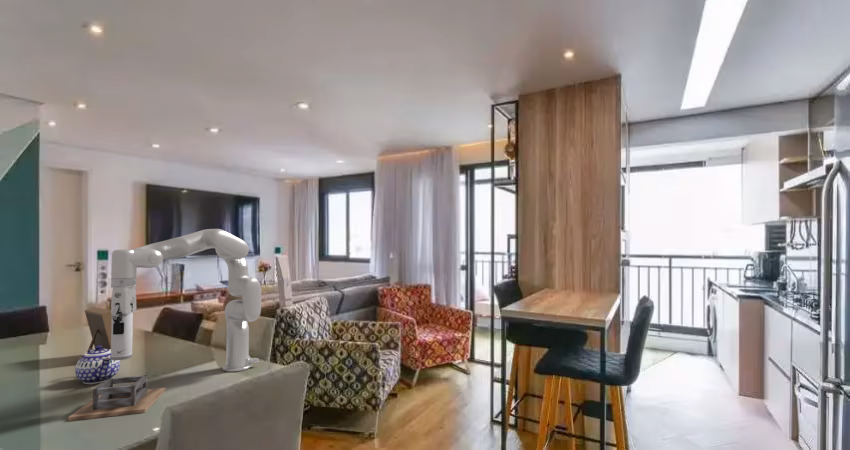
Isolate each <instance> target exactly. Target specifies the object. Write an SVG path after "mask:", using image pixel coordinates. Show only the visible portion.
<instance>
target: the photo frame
mask: <svg viewBox="0 0 850 450" xmlns="http://www.w3.org/2000/svg"><path fill="white" fill-rule="evenodd" d="M84 314H85V317H86V321H87V324H88V329H89V332H90V335H91V341H90V343H89V346H88V348H87V351H86V352H88V350H89V349H94V347H95V346H98V345H101V346H102V348H101V349H111V326H112V314H111V309H107V308H100V307H96V306H95V307H94V306H93V307H90V308H87V309H84Z"/></svg>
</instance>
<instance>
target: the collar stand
mask: <svg viewBox="0 0 850 450" xmlns="http://www.w3.org/2000/svg"><path fill="white" fill-rule="evenodd" d="M148 376H149V375H148V374H145V375H134V376H133V375H132V376H124V377H123V376H122V377H113V378H109V379H108V380H106V381H105V382H101V383H100V384H98V386H97V387H95V388H94V389H92V399H91V400H89V401H88V402H87V403H85V404H84V405H82V407H80V408H79V409H77V410H76V411H74V413H72V414H70V415H69V416H68V417H67V421H68V422H72V421H81V420H88V419H89V420H91V419H97V418H98V419H99V418H108V417H118V416H125V415H135V414H143V413H146V412H147V411H148V410H149V409H150V408H151V407H152V406H153V405H154V403H156V402H157V400H158V399H159V398H160V397H161V396H162V395H163V394H164V393H165V392H166V389H167V388H166V387H156V388H148ZM131 383H132V384H131ZM121 384H122V385H121ZM123 384H131V385H123ZM114 385H120V386H114Z"/></svg>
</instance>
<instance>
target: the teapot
mask: <svg viewBox="0 0 850 450" xmlns="http://www.w3.org/2000/svg"><path fill="white" fill-rule="evenodd" d="M101 348H102V346H101V345H98V346H95V347H94V346H93V348H92V349H89V350H88V349H87V351H88V352H87V351H86V352H85V353H84V354H83V355H82V356H81V357H80V358H79V359H78V361H77V362H76V364H75V370H74V372H75V377H76V378H77V380H78V381H80V382H82V383H83V384H84V385H95V384H102V383H104V382H105V381H106V380H108V379H109V378H114V376H116V375H117V374H118V373H119V371H120V367H121V360H111V349H101Z"/></svg>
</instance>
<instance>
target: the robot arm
mask: <svg viewBox="0 0 850 450" xmlns="http://www.w3.org/2000/svg"><path fill="white" fill-rule="evenodd" d="M209 249H215V253H216V255H217V256H218V257H220V258H221V259H222V260H223V261H224V262H225V263H226V266H227V269H228V271H227V272H228V273H227V274H228V278H227V279H228V284H227V286H228V287H227V288H228V290H227V291H228V294H230V296H232V297H237V298H242V299H233V300H230V301H229V302H228V303H226V305H225V308H224V317H225V318H224V319H225V322H226V323H225V324H226V350H225V351H226V354H225V356H226V361H225V364H224V365H222V371H224V372H241V371H245V370H248V369H250V368H252V366H253V364H255V363H259V362H260V361H259V358H257V357H253V358H252V357H251V355H249V349H250V348H249V347H250V346H249V345H250V343H249V342H250V327H249V323H252V322H255V321H257V320H258V319H259V318H260V316H261V312H262V286H261V285H262V284H261V283H260V281H259V280H258V279H257V278H255V277H252V276H249V265H248V261H247V259H246V257H247V256H248V254H249V251H250V247H249V245H248V244H247V242H246V241H245V240H243V239H241V238H240V237H237V236H236V235H234V234H232V233H230V232H228V231H226V230H224V229H221V228H207V229H202V230H199V231H195V232H192V233H188V234H185V235H182V236H178V237H174V238H170V239H166V240H162V241H159V242H157V241H156V242H153V243H150V244H146V245H144V246H143V245H142V246H139V247H136V248H133V249H132V248H130V249H114V250H113V251H112V253H111V264H110V265H111V269H110V270H111V271H110V272H111V273H110V276H111V277H110V288H111V289H112V293H111V301H110V304H111V306H110V310H111V314H112V317H113V334H114V335H117V334H124V323H123V320H124V314H125V315H128V314H130V313H131V310H133V313H135V312H136V311H137V290H136V287H137V273H138V272H137V269H138V268H143V269H153V268H156V267H158V266H159V265H161V264H162V262H163V261H164V260H169V259H178V258H179V259H180V258H184V257H188V256H191V255H194V254H196V253H197V254H198V253H200V252H203V251H205V250H209ZM131 303H133V309H132V307H131V306H132V305H130V304H131ZM118 312H122V314H118ZM119 316H121V319H120V317H119Z"/></svg>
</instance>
